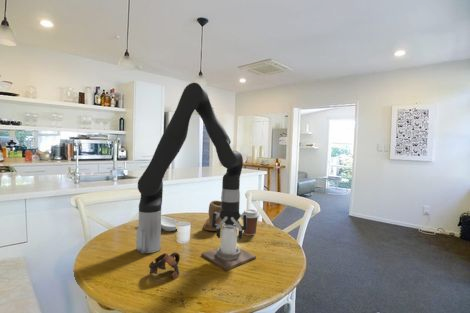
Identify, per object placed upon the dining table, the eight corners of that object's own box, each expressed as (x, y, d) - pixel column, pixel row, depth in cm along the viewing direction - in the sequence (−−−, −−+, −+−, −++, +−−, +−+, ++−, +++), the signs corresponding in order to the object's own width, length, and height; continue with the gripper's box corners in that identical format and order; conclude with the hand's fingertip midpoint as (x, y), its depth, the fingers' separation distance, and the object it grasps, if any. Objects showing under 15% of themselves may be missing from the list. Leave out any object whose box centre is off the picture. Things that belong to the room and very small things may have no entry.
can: (224, 259, 101) (225, 229, 100) (218, 252, 107) (219, 224, 106) (238, 256, 104) (240, 227, 103) (231, 250, 110) (233, 222, 109)
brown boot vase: (224, 233, 133) (225, 204, 132) (202, 232, 133) (203, 203, 133) (226, 224, 148) (227, 198, 148) (206, 223, 149) (207, 197, 148)
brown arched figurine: (171, 286, 83) (158, 265, 83) (152, 290, 88) (140, 270, 87) (190, 262, 94) (179, 243, 93) (173, 267, 98) (162, 249, 98)
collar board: (226, 270, 94) (226, 262, 94) (201, 255, 106) (201, 248, 105) (255, 258, 105) (256, 251, 105) (230, 246, 116) (230, 239, 116)
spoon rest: (185, 227, 140) (186, 214, 140) (175, 234, 129) (175, 220, 129) (148, 222, 147) (148, 210, 146) (135, 229, 135) (135, 215, 135)
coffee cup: (261, 232, 135) (262, 210, 135) (253, 238, 127) (254, 214, 127) (246, 229, 140) (247, 207, 139) (237, 234, 132) (238, 211, 132)
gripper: (248, 198, 107) (247, 236, 108) (215, 196, 109) (214, 233, 109) (247, 202, 99) (245, 243, 100) (211, 200, 101) (210, 240, 102)
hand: (229, 238), depth 105 cm, fingers open, 8 cm apart
